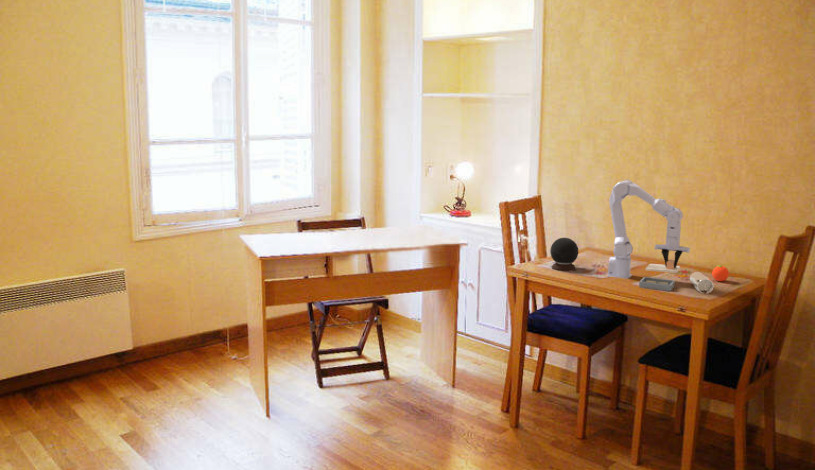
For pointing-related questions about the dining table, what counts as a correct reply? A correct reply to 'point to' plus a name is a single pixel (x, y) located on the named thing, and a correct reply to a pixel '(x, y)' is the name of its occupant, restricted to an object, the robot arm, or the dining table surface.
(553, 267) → the black ball on stand
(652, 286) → the tub
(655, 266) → the lid
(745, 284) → the dining table surface
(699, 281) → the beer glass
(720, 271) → the clementine
